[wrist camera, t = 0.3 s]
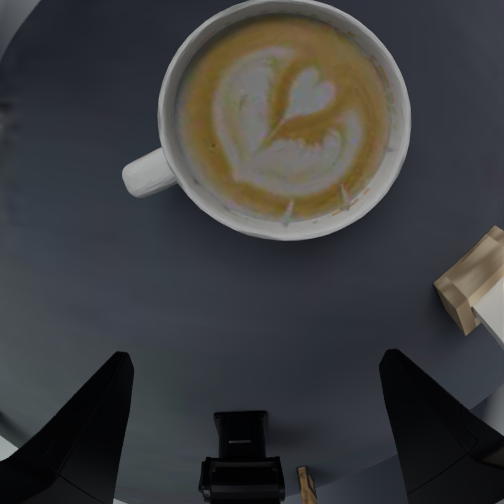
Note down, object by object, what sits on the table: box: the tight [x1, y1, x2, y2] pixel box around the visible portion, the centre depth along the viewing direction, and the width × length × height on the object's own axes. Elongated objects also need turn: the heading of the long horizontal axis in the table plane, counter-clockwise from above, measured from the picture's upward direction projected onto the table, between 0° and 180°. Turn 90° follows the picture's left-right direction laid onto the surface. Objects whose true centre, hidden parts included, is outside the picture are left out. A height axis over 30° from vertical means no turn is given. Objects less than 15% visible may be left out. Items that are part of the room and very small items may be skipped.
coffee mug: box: [122, 0, 411, 241], centre depth 15 cm, size 13×10×10 cm
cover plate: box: [471, 276, 504, 350], centre depth 20 cm, size 6×2×11 cm, turn 132°
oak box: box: [433, 225, 504, 335], centre depth 24 cm, size 10×5×4 cm, turn 132°
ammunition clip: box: [296, 465, 317, 504], centre depth 41 cm, size 11×2×12 cm, turn 17°
